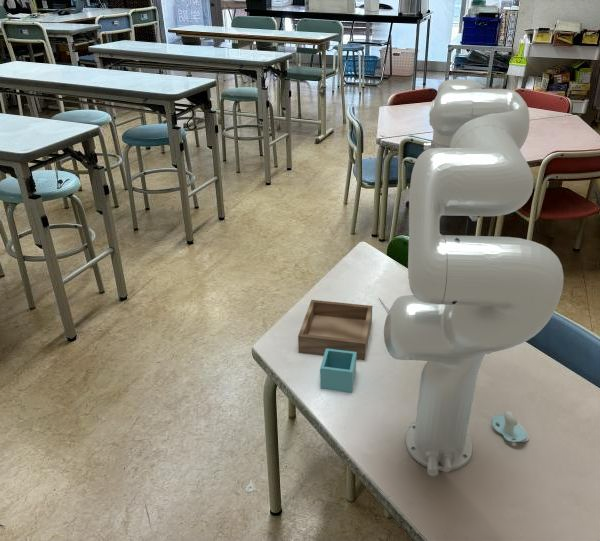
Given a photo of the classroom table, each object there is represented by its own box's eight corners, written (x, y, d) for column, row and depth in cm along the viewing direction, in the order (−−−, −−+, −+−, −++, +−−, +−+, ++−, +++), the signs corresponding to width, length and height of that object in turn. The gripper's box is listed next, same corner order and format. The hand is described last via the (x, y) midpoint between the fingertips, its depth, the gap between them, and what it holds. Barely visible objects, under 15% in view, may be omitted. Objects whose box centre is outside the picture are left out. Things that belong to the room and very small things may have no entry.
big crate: (364, 360, 129) (365, 343, 127) (298, 352, 132) (298, 335, 130) (371, 321, 143) (372, 305, 140) (311, 315, 146) (311, 299, 143)
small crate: (351, 393, 120) (352, 372, 117) (320, 389, 121) (320, 368, 118) (355, 372, 126) (356, 352, 123) (325, 368, 127) (325, 348, 124)
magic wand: (372, 293, 157) (375, 288, 157) (409, 342, 136) (413, 336, 135) (367, 290, 156) (370, 285, 156) (403, 340, 135) (407, 334, 135)
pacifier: (508, 417, 113) (486, 426, 110) (514, 393, 110) (491, 403, 107) (536, 441, 107) (513, 451, 105) (543, 417, 104) (520, 427, 102)
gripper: (403, 154, 99) (396, 238, 108) (503, 160, 95) (488, 246, 104) (406, 142, 106) (400, 222, 114) (500, 147, 102) (486, 230, 110)
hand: (442, 234), depth 109 cm, fingers open, 9 cm apart
